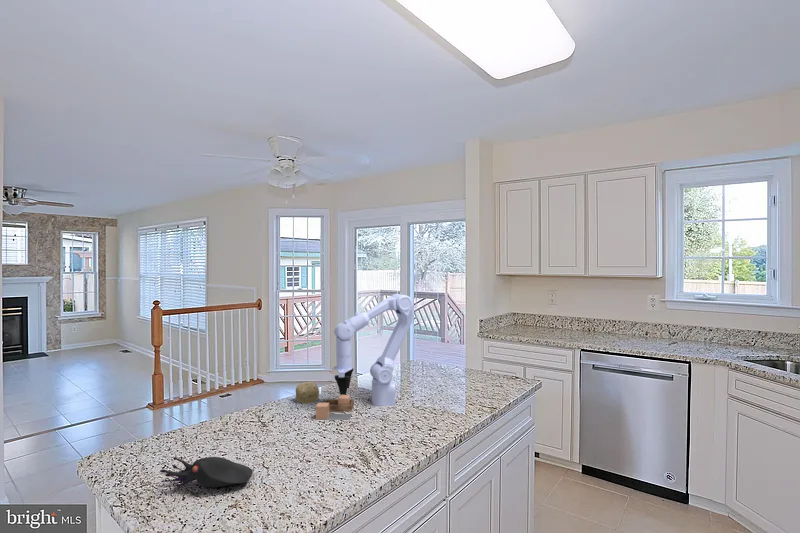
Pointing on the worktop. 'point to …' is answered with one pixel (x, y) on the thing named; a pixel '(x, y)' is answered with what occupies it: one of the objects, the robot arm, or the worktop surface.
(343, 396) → the peach cube
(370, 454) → the worktop surface
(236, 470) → the toy
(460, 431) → the worktop surface
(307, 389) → the coral
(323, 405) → the tan cube
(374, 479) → the worktop surface
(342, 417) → the slate board
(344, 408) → the walnut bin
